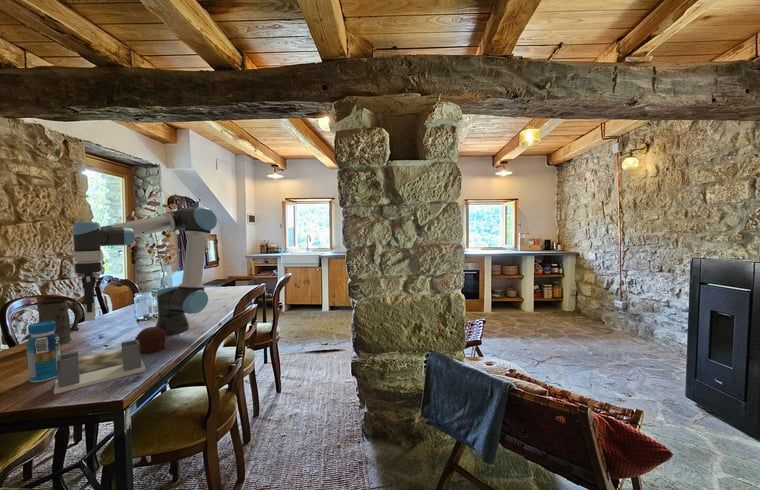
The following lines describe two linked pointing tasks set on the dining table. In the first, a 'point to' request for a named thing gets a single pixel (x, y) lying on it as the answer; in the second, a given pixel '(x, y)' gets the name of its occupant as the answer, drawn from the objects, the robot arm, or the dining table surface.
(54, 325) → the beverage bottle
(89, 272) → the robot arm
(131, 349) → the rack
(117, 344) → the dining table surface
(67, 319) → the beer stein
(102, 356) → the rail
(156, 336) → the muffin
